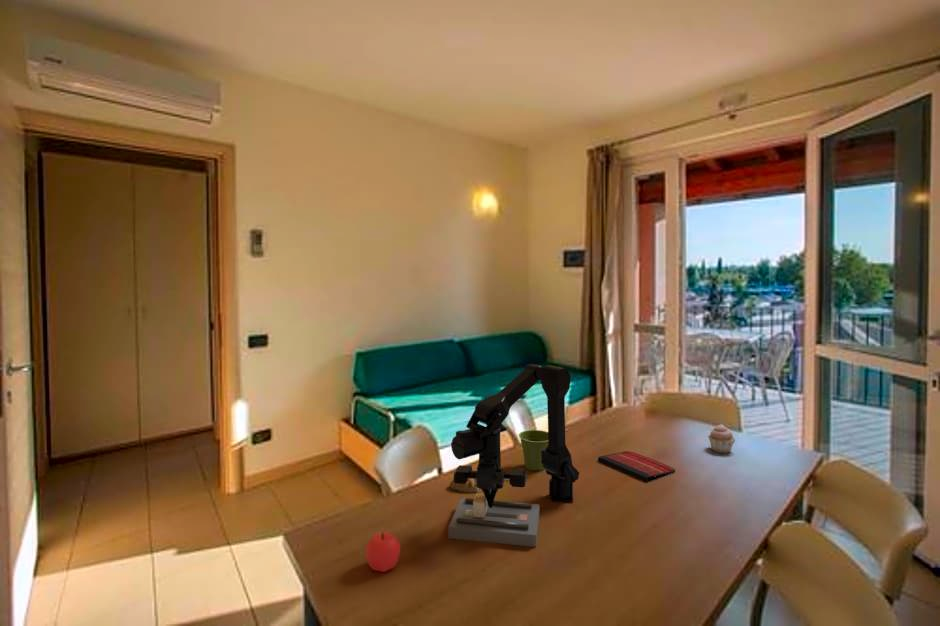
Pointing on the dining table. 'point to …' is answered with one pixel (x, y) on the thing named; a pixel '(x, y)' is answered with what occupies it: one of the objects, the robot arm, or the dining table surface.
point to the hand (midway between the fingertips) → (490, 507)
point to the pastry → (465, 486)
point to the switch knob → (479, 506)
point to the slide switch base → (497, 523)
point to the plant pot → (533, 448)
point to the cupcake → (721, 439)
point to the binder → (636, 465)
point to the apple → (383, 551)
